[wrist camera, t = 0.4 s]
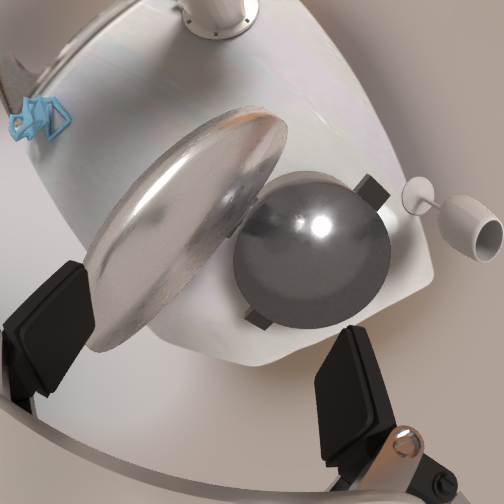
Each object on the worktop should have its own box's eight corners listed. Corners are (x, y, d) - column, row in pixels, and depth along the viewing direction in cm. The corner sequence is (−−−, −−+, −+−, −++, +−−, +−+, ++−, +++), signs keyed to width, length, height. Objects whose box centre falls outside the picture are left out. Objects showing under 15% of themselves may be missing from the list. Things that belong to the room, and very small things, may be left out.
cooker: (209, 256, 51) (193, 292, 40) (306, 129, 40) (318, 129, 29) (301, 316, 55) (306, 358, 44) (398, 212, 44) (430, 237, 34)
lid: (198, 281, 38) (179, 264, 39) (303, 143, 30) (279, 125, 30) (69, 394, 15) (40, 361, 16) (232, 62, 7) (157, 29, 7)
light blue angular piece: (61, 89, 37) (21, 88, 27) (72, 120, 40) (31, 125, 30) (40, 111, 39) (0, 115, 28) (50, 141, 42) (10, 150, 31)
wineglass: (414, 223, 45) (478, 280, 26) (393, 193, 43) (461, 240, 24) (440, 198, 42) (512, 242, 23) (421, 167, 40) (498, 198, 21)
